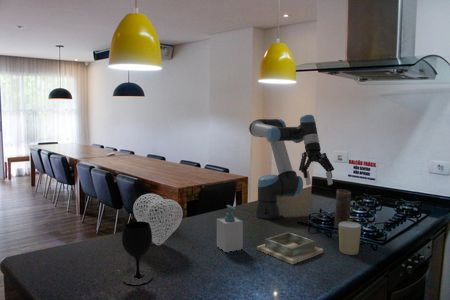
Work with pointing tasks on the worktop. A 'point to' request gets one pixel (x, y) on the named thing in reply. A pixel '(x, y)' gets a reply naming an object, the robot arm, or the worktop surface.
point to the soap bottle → (229, 232)
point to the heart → (166, 203)
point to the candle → (342, 206)
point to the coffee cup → (349, 237)
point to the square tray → (290, 247)
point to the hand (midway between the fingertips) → (319, 184)
